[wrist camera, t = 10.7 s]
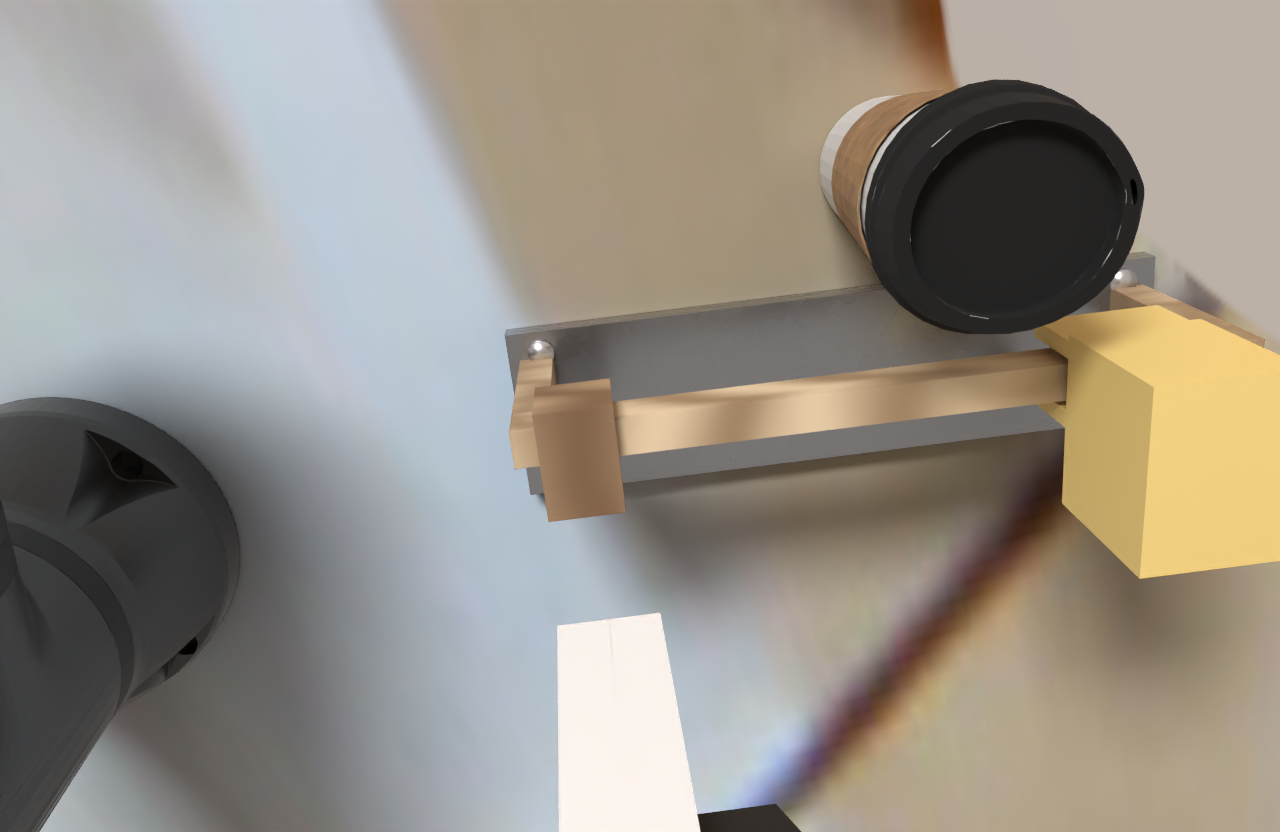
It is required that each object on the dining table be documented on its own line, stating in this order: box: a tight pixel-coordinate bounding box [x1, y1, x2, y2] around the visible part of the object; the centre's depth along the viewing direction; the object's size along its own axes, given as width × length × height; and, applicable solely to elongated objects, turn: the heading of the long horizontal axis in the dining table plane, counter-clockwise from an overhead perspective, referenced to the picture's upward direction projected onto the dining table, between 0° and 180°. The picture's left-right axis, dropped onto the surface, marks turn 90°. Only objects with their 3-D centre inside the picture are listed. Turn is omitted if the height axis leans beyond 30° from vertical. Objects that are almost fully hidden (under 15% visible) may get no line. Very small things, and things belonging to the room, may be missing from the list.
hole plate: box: [505, 252, 1155, 495], centre depth 49 cm, size 30×8×1 cm, turn 96°
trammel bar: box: [509, 284, 1265, 522], centre depth 44 cm, size 29×5×10 cm, turn 96°
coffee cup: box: [819, 80, 1144, 334], centre depth 39 cm, size 8×8×15 cm
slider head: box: [1035, 305, 1280, 579], centre depth 41 cm, size 5×7×15 cm
